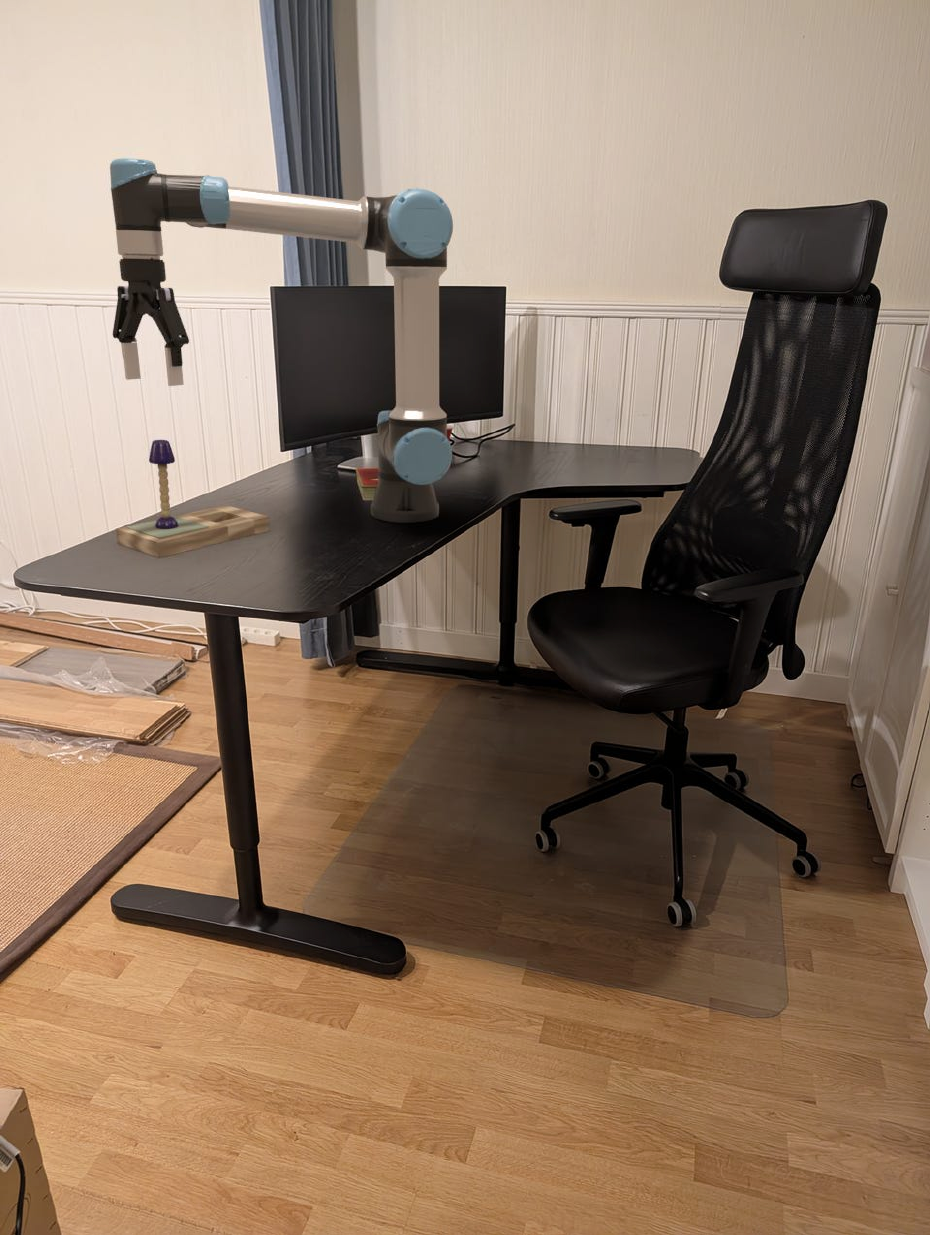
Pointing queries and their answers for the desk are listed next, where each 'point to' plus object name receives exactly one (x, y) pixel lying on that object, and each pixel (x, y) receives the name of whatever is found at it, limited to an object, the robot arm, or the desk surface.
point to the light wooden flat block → (193, 531)
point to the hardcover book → (367, 482)
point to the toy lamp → (163, 480)
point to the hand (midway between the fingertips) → (154, 382)
